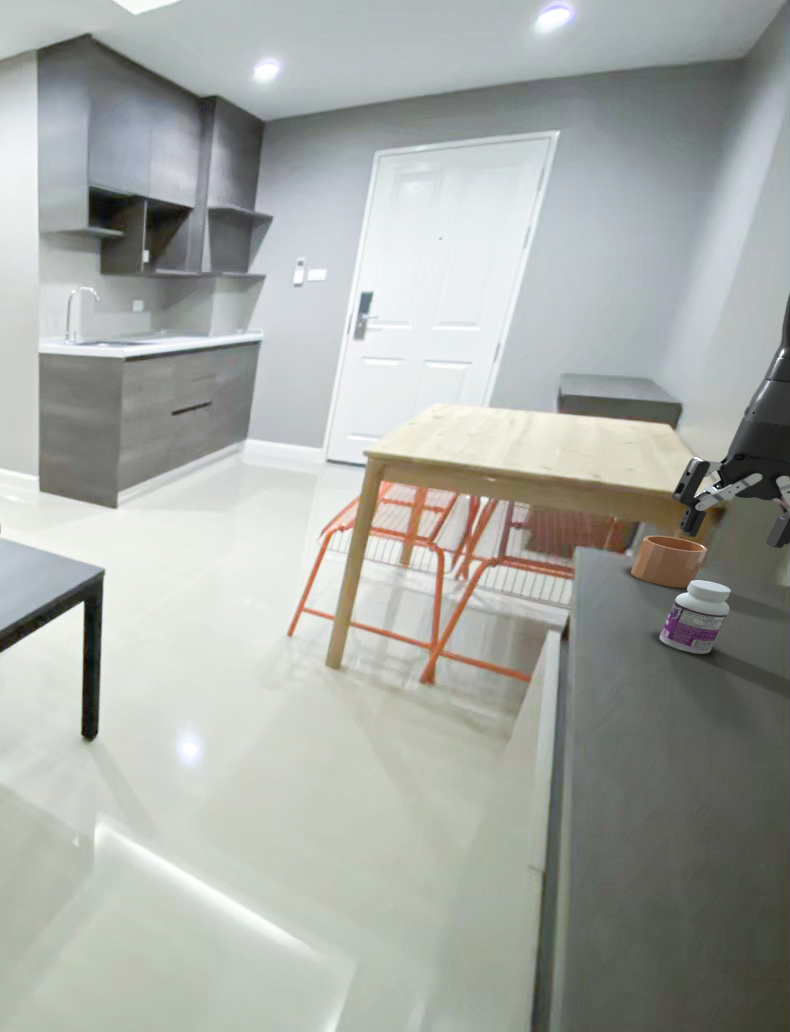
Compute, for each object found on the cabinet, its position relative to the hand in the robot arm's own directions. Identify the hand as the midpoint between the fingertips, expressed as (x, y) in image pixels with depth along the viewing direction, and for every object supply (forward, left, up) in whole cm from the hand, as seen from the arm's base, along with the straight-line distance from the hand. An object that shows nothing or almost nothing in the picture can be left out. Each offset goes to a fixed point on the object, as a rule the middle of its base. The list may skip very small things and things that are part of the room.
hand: (730, 540), depth 81 cm
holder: (-7, -29, -16) cm, 34 cm away
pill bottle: (0, 0, -17) cm, 17 cm away
